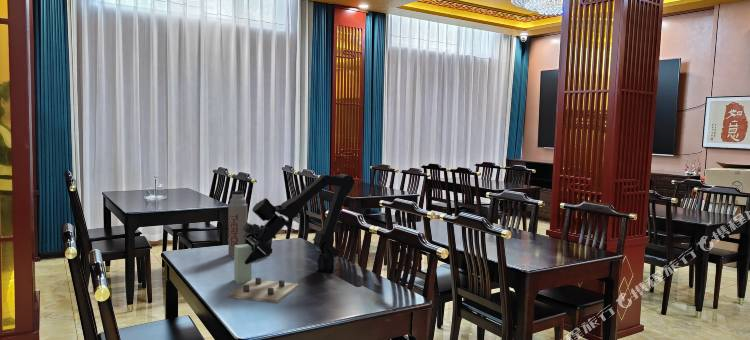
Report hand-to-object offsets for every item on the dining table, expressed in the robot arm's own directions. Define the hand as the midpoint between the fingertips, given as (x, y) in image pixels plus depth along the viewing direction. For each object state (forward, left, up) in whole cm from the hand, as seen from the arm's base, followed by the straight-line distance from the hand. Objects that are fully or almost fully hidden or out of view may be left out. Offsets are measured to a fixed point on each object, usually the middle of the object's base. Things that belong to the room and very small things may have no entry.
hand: (241, 260), depth 194 cm
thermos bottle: (+20, -33, -8) cm, 39 cm away
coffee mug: (+10, -38, -8) cm, 40 cm away
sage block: (0, 0, -8) cm, 8 cm away
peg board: (-13, +9, -8) cm, 18 cm away
